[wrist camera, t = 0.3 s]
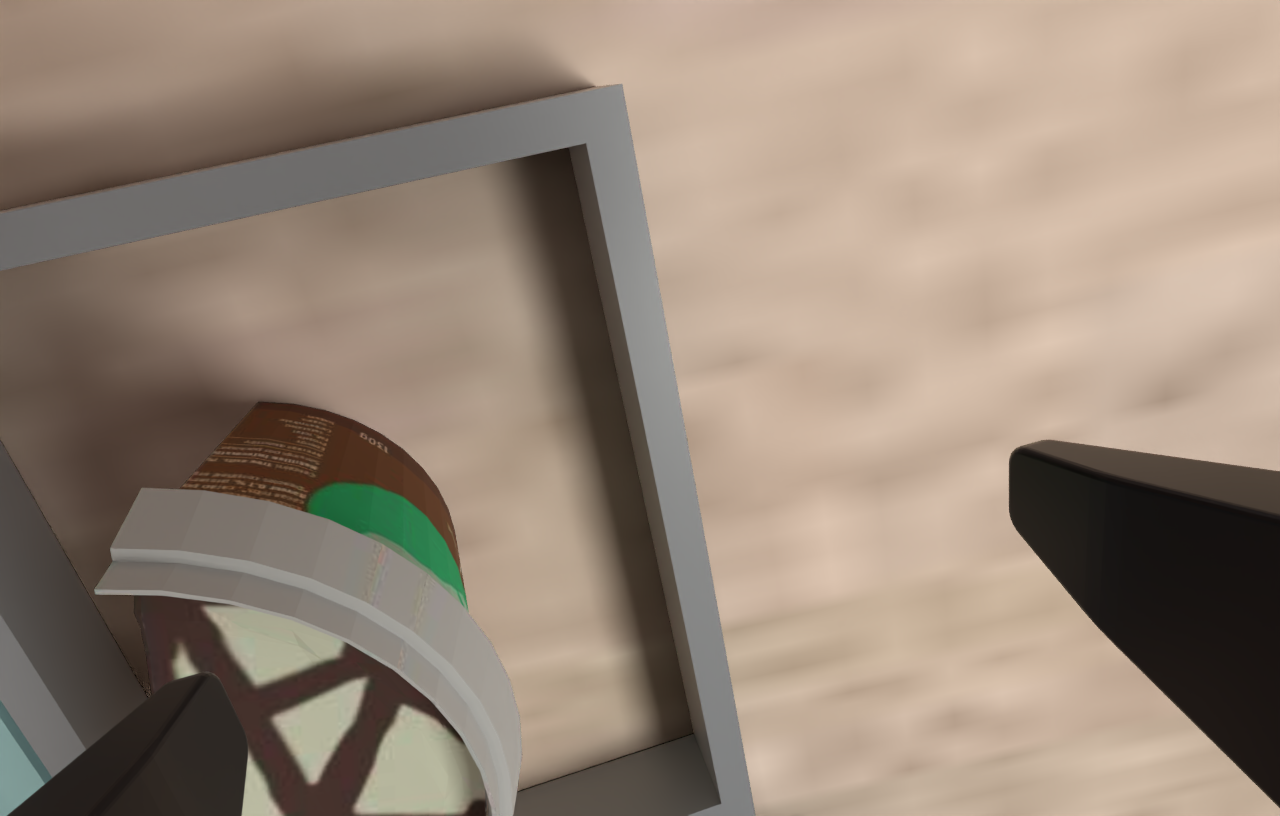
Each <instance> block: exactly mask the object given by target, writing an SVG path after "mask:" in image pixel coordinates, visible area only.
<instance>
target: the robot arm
mask: <svg viewBox="0 0 1280 816" xmlns="http://www.w3.org/2000/svg"><path fill="white" fill-rule="evenodd" d="M1009 513H1010V517H1011V520H1012V523H1013V525H1014V527H1015V528H1016V530H1017V531H1018V533H1019V534H1020V535H1021V536H1022V538H1023V539H1024V540H1025V541H1026V542H1027V544H1028V545H1029V546H1030V547H1031V548H1032V550H1033V551H1034V552H1035V553H1036V554H1037V556H1038V557H1039V558H1040V559H1041V560H1042V562H1043V563H1044V564H1045V565H1046V566H1047V568H1048V569H1049V570H1050V571H1051V572H1052V574H1053V575H1054V576H1055V577H1056V578H1057V580H1058V581H1059V582H1060V583H1061V584H1062V586H1063V587H1064V588H1065V589H1066V590H1067V592H1068V593H1069V594H1070V595H1071V596H1072V598H1073V599H1074V600H1075V601H1076V602H1077V604H1078V605H1079V606H1080V607H1081V609H1082V610H1083V611H1084V612H1085V613H1086V614H1087V615H1088V617H1089V618H1090V619H1091V620H1092V621H1093V622H1094V623H1095V625H1096V626H1097V627H1098V628H1099V629H1100V630H1101V631H1102V632H1103V633H1104V634H1105V635H1106V636H1107V637H1108V638H1109V639H1110V640H1111V641H1112V642H1113V644H1114V645H1115V646H1116V647H1117V648H1118V649H1119V650H1121V651H1122V652H1123V653H1124V654H1125V655H1126V656H1127V657H1128V658H1129V659H1130V660H1131V661H1132V662H1133V663H1134V664H1135V665H1136V666H1137V667H1138V668H1139V669H1140V670H1141V671H1142V672H1143V673H1144V674H1145V675H1146V676H1147V677H1148V678H1149V679H1150V680H1151V681H1152V682H1153V683H1154V684H1155V685H1156V686H1157V687H1158V688H1159V689H1160V690H1161V691H1162V692H1163V693H1164V694H1165V695H1166V696H1167V697H1168V698H1169V699H1170V700H1171V701H1172V702H1173V703H1174V704H1175V705H1176V706H1177V707H1178V708H1179V709H1180V710H1181V711H1182V712H1183V713H1184V714H1185V715H1186V716H1187V717H1188V718H1189V719H1190V720H1191V721H1192V722H1193V723H1194V724H1195V725H1196V726H1197V727H1198V728H1199V729H1200V730H1201V731H1202V732H1203V733H1204V734H1205V735H1206V736H1207V737H1208V738H1209V739H1211V740H1212V741H1213V742H1214V743H1215V744H1216V745H1217V746H1218V747H1219V748H1220V749H1221V750H1222V751H1223V752H1224V753H1225V754H1226V755H1227V756H1228V757H1229V758H1230V759H1231V760H1232V761H1233V762H1234V763H1235V764H1236V765H1237V766H1238V767H1239V768H1240V769H1241V770H1242V771H1243V772H1244V773H1245V774H1246V775H1247V776H1248V777H1249V778H1250V779H1251V780H1252V781H1253V782H1254V783H1255V784H1256V785H1257V786H1258V787H1259V788H1260V789H1261V790H1262V791H1263V792H1264V793H1265V794H1266V795H1267V796H1268V797H1269V798H1270V799H1271V800H1272V801H1273V802H1274V803H1275V804H1276V805H1277V806H1278V807H1279V808H1280V471H1273V470H1266V469H1259V468H1252V467H1244V466H1237V465H1230V464H1223V463H1215V462H1208V461H1201V460H1194V459H1186V458H1179V457H1172V456H1165V455H1157V454H1150V453H1143V452H1136V451H1128V450H1121V449H1114V448H1107V447H1099V446H1092V445H1085V444H1078V443H1070V442H1063V441H1056V440H1041V441H1038V442H1034V443H1031V444H1027V445H1023V446H1020V447H1018V448H1016V449H1015V450H1014V451H1013V452H1012V453H1011V456H1010V459H1009ZM247 762H248V743H247V738H246V734H245V731H244V729H243V726H242V724H241V722H240V720H239V718H238V716H237V714H236V712H235V710H234V707H233V705H232V703H231V701H230V699H229V697H228V695H227V693H226V691H225V689H224V686H223V684H222V682H221V681H220V679H219V678H218V677H217V676H216V675H215V674H213V673H211V672H201V673H198V674H194V675H190V676H187V677H183V678H180V679H176V680H172V681H170V682H168V683H166V684H165V685H163V686H162V687H161V688H160V689H159V690H157V691H156V692H155V693H154V694H152V695H151V696H150V697H149V698H148V699H146V700H145V701H144V702H143V703H142V704H140V705H139V706H138V707H137V708H136V709H134V710H133V711H132V712H131V713H130V714H128V715H127V716H126V717H125V718H124V719H122V720H121V721H120V722H119V723H118V724H116V725H115V726H114V727H113V728H112V729H110V730H109V731H108V732H107V733H106V734H104V735H103V736H102V737H101V738H100V739H98V740H97V741H96V742H95V743H94V744H92V745H91V746H90V747H89V748H88V749H86V750H85V751H84V752H83V753H82V754H80V755H79V756H78V757H77V758H75V759H74V760H73V761H72V762H71V763H69V764H68V765H67V766H66V767H65V768H63V769H62V770H61V771H60V772H59V773H57V774H56V775H55V776H54V777H53V778H51V779H50V780H49V781H48V782H47V783H45V784H44V785H43V786H42V787H41V788H39V789H38V790H37V791H36V792H35V793H33V794H32V795H31V796H30V797H29V798H27V799H26V800H25V801H24V802H23V803H21V804H20V805H19V806H18V807H17V808H15V809H14V810H13V811H12V812H11V813H9V814H8V815H7V816H242V809H243V800H244V790H245V781H246V772H247Z"/></svg>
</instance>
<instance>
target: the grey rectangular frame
mask: <svg viewBox="0 0 1280 816" xmlns="http://www.w3.org/2000/svg"><path fill="white" fill-rule="evenodd" d="M567 147H569V152H570V157H571V161H572V166H573V171H574V175H575V180H576V185H577V189H578V194H579V199H580V203H581V208H582V213H583V217H584V222H585V227H586V231H587V236H588V241H589V245H590V250H591V255H592V259H593V264H594V269H595V273H596V278H597V283H598V287H599V292H600V297H601V301H602V306H603V311H604V315H605V320H606V325H607V330H608V334H609V339H610V344H611V348H612V353H613V358H614V362H615V367H616V372H617V376H618V381H619V386H620V390H621V395H622V400H623V404H624V409H625V414H626V418H627V423H628V428H629V432H630V437H631V442H632V446H633V451H634V456H635V460H636V465H637V470H638V474H639V479H640V484H641V488H642V493H643V498H644V502H645V507H646V512H647V516H648V521H649V526H650V530H651V535H652V540H653V545H654V549H655V554H656V559H657V563H658V568H659V573H660V577H661V582H662V587H663V591H664V596H665V601H666V605H667V610H668V615H669V619H670V624H671V629H672V633H673V638H674V643H675V647H676V652H677V657H678V661H679V666H680V671H681V675H682V680H683V685H684V689H685V694H686V699H687V703H688V708H689V713H690V717H691V722H692V727H693V731H694V734H692V735H689V736H686V737H683V738H680V739H677V740H674V741H671V742H668V743H665V744H662V745H659V746H656V747H653V748H650V749H647V750H644V751H641V752H638V753H635V754H632V755H629V756H626V757H623V758H619V759H616V760H613V761H610V762H607V763H604V764H601V765H598V766H595V767H592V768H589V769H586V770H583V771H580V772H577V773H574V774H571V775H568V776H565V777H562V778H559V779H556V780H553V781H550V782H547V783H544V784H541V785H538V786H535V787H532V788H529V789H526V790H523V791H520V792H517V795H516V801H515V807H514V813H513V816H756V815H755V810H754V804H753V799H752V793H751V788H750V782H749V777H748V771H747V766H746V761H745V755H744V750H743V744H742V739H741V733H740V728H739V722H738V717H737V711H736V706H735V700H734V695H733V689H732V684H731V678H730V673H729V667H728V662H727V656H726V651H725V645H724V640H723V634H722V629H721V623H720V618H719V612H718V607H717V601H716V596H715V590H714V585H713V579H712V574H711V568H710V563H709V557H708V552H707V547H706V541H705V536H704V530H703V525H702V519H701V514H700V508H699V503H698V497H697V492H696V486H695V481H694V475H693V470H692V464H691V459H690V453H689V448H688V442H687V437H686V431H685V426H684V420H683V415H682V409H681V404H680V398H679V393H678V387H677V382H676V376H675V371H674V365H673V360H672V354H671V349H670V343H669V338H668V333H667V327H666V322H665V316H664V311H663V305H662V300H661V294H660V289H659V283H658V278H657V272H656V267H655V261H654V256H653V250H652V245H651V239H650V234H649V228H648V223H647V217H646V212H645V206H644V201H643V195H642V190H641V184H640V179H639V173H638V168H637V162H636V157H635V151H634V146H633V140H632V135H631V129H630V124H629V119H628V113H627V108H626V102H625V97H624V91H623V86H622V84H616V85H607V86H597V87H592V88H587V89H583V90H578V91H573V92H568V93H563V94H559V95H554V96H549V97H544V98H539V99H535V100H530V101H525V102H520V103H515V104H511V105H506V106H501V107H496V108H491V109H486V110H482V111H477V112H472V113H467V114H462V115H458V116H453V117H448V118H443V119H438V120H434V121H429V122H424V123H419V124H414V125H410V126H405V127H400V128H395V129H390V130H386V131H381V132H376V133H371V134H366V135H361V136H357V137H352V138H347V139H342V140H337V141H333V142H328V143H323V144H318V145H313V146H309V147H304V148H299V149H294V150H289V151H285V152H280V153H275V154H270V155H265V156H260V157H256V158H251V159H246V160H241V161H236V162H232V163H227V164H222V165H217V166H212V167H208V168H203V169H198V170H193V171H188V172H184V173H179V174H174V175H169V176H164V177H160V178H155V179H150V180H145V181H140V182H135V183H131V184H126V185H121V186H116V187H111V188H107V189H102V190H97V191H92V192H87V193H83V194H78V195H73V196H68V197H63V198H59V199H54V200H49V201H44V202H39V203H35V204H30V205H25V206H20V207H15V208H10V209H6V210H1V211H0V271H2V270H7V269H11V268H16V267H20V266H25V265H30V264H34V263H39V262H43V261H48V260H53V259H57V258H62V257H66V256H71V255H75V254H80V253H85V252H89V251H94V250H98V249H103V248H108V247H112V246H117V245H121V244H126V243H131V242H135V241H140V240H144V239H149V238H154V237H158V236H163V235H167V234H172V233H177V232H181V231H186V230H190V229H195V228H199V227H204V226H209V225H213V224H218V223H222V222H227V221H232V220H236V219H241V218H245V217H250V216H255V215H259V214H264V213H268V212H273V211H278V210H282V209H287V208H291V207H296V206H300V205H305V204H310V203H314V202H319V201H323V200H328V199H333V198H337V197H342V196H346V195H351V194H356V193H360V192H365V191H369V190H374V189H379V188H383V187H388V186H392V185H397V184H402V183H406V182H411V181H415V180H420V179H424V178H429V177H434V176H438V175H443V174H447V173H452V172H457V171H461V170H466V169H470V168H475V167H480V166H484V165H489V164H493V163H498V162H503V161H507V160H512V159H516V158H521V157H525V156H530V155H535V154H539V153H544V152H548V151H553V150H558V149H562V148H567ZM146 699H148V698H147V696H146V694H145V693H144V691H143V689H142V687H141V686H140V684H139V682H138V680H137V679H136V677H135V675H134V673H133V672H132V670H131V668H130V666H129V665H128V663H127V661H126V659H125V658H124V656H123V654H122V652H121V651H120V649H119V647H118V645H117V644H116V642H115V640H114V638H113V637H112V635H111V633H110V631H109V630H108V628H107V626H106V624H105V623H104V621H103V619H102V617H101V616H100V614H99V612H98V610H97V609H96V607H95V605H94V603H93V602H92V600H91V598H90V596H89V595H88V593H87V591H86V589H85V588H84V586H83V584H82V582H81V581H80V579H79V577H78V575H77V574H76V572H75V570H74V568H73V567H72V565H71V563H70V561H69V560H68V558H67V556H66V554H65V553H64V551H63V549H62V547H61V546H60V544H59V542H58V540H57V539H56V537H55V535H54V533H53V532H52V530H51V528H50V526H49V525H48V523H47V521H46V519H45V518H44V516H43V514H42V512H41V511H40V509H39V507H38V505H37V504H36V502H35V500H34V498H33V497H32V495H31V493H30V491H29V490H28V488H27V486H26V484H25V483H24V481H23V479H22V477H21V476H20V474H19V472H18V470H17V469H16V467H15V465H14V463H13V462H12V460H11V458H10V456H9V455H8V453H7V451H6V449H5V448H4V446H3V444H2V442H1V441H0V700H1V702H2V703H3V705H4V706H5V708H6V709H7V711H8V712H9V714H10V715H11V717H12V718H13V720H14V721H15V723H16V724H17V726H18V727H19V729H20V730H21V732H22V733H23V735H24V736H25V738H26V739H27V741H28V742H29V744H30V745H31V747H32V748H33V750H34V751H35V753H36V754H37V755H38V757H39V758H40V760H41V761H42V763H43V764H44V766H45V767H46V769H47V770H48V772H49V773H50V775H51V776H52V778H53V777H54V776H55V775H56V774H57V773H59V772H60V771H61V770H62V769H63V768H65V767H66V766H67V765H68V764H69V763H71V762H72V761H73V760H74V759H75V758H77V757H78V756H79V755H80V754H82V753H83V752H84V751H85V750H86V749H88V748H89V747H90V746H91V745H92V744H94V743H95V742H96V741H97V740H98V739H100V738H101V737H102V736H103V735H104V734H106V733H107V732H108V731H109V730H110V729H112V728H113V727H114V726H115V725H116V724H118V723H119V722H120V721H121V720H122V719H124V718H125V717H126V716H127V715H128V714H130V713H131V712H132V711H133V710H134V709H136V708H137V707H138V706H139V705H140V704H142V703H143V702H144V701H145V700H146Z"/></svg>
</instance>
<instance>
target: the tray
mask: <svg viewBox="0 0 1280 816" xmlns="http://www.w3.org/2000/svg"><path fill="white" fill-rule="evenodd" d="M51 778H52V776H51V775H50V773H49V772H48V770H47V769H46V767H45V766H44V764H43V763H42V761H41V760H40V758H39V757H38V755H37V754H36V753H35V751H34V750H33V748H32V747H31V745H30V744H29V742H28V741H27V739H26V738H25V736H24V735H23V733H22V732H21V730H20V729H19V727H18V726H17V724H16V723H15V721H14V720H13V718H12V717H11V715H10V714H9V712H8V711H7V709H6V708H5V706H4V705H3V703H2V702H1V700H0V816H7V815H8V814H9V813H11V812H12V811H13V810H14V809H15V808H17V807H18V806H19V805H20V804H21V803H23V802H24V801H25V800H26V799H27V798H29V797H30V796H31V795H32V794H33V793H35V792H36V791H37V790H38V789H39V788H41V787H42V786H43V785H44V784H45V783H47V782H48V781H49V780H50V779H51Z"/></svg>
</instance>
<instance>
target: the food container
mask: <svg viewBox="0 0 1280 816" xmlns="http://www.w3.org/2000/svg"><path fill="white" fill-rule="evenodd" d="M110 552H111V557H112V561H113V562H112V563H111V565H110V566H109V568H108V569H107V571H106V572H105V574H104V575H103V577H102V578H101V580H100V581H99V583H98V584H97V586H96V587H95V589H94V591H95V594H102V595H134V613H135V616H136V618H137V621H138V623H139V626H140V629H141V633H142V638H143V642H144V647H145V652H146V658H147V665H148V672H149V680H150V687H151V694H154V693H155V692H156V691H157V690H159V689H160V688H161V687H162V686H163V685H165V684H166V683H168V682H170V681H172V680H176V679H180V678H183V677H187V676H190V675H194V674H198V673H201V672H211V673H213V674H215V675H216V676H217V677H218V678H219V679H220V681H221V682H222V684H223V686H224V689H225V691H226V693H227V695H228V697H229V699H230V701H231V703H232V705H233V707H234V710H235V712H236V714H237V716H238V718H239V720H240V722H241V724H242V726H243V729H244V731H245V734H246V738H247V743H248V762H247V772H246V781H245V790H244V800H243V809H242V816H513V813H514V807H515V801H516V795H517V788H518V781H519V774H520V767H521V760H522V743H521V726H520V715H519V712H518V708H517V704H516V701H515V697H514V693H513V690H512V686H511V682H510V679H509V677H508V675H507V673H506V671H505V669H504V667H503V665H502V663H501V661H500V659H499V657H498V655H497V653H496V651H495V649H494V647H493V645H492V643H491V641H490V640H489V639H488V638H487V636H486V635H485V634H484V632H483V631H482V630H481V628H480V627H479V626H478V625H477V623H476V622H475V621H474V619H473V618H472V617H471V615H470V614H469V612H468V606H467V600H466V594H465V588H464V583H463V577H462V571H461V565H460V559H459V553H458V547H457V541H456V535H455V530H454V527H453V523H452V520H451V516H450V513H449V510H448V507H447V505H446V504H445V502H444V500H443V498H442V496H441V494H440V492H439V490H438V488H437V486H436V485H435V484H434V482H433V481H432V480H431V478H430V477H429V476H428V474H427V473H426V472H425V470H424V469H423V468H422V467H421V466H420V465H419V464H418V463H417V462H416V461H415V460H414V459H413V458H412V457H411V456H410V455H409V454H408V453H407V452H406V451H404V450H403V449H402V448H401V447H399V446H398V445H396V444H395V443H393V442H392V441H391V440H389V439H388V438H386V437H385V436H383V435H382V434H380V433H378V432H377V431H375V430H373V429H371V428H369V427H367V426H365V425H363V424H361V423H359V422H357V421H355V420H352V419H349V418H346V417H343V416H340V415H337V414H334V413H331V412H329V411H326V410H321V409H316V408H311V407H306V406H301V405H296V404H284V403H269V402H258V403H257V404H256V405H255V406H254V407H253V408H252V410H251V411H250V412H249V413H248V414H247V415H246V416H245V417H244V418H243V419H242V421H241V422H240V423H239V424H238V425H237V426H236V427H235V428H234V429H233V430H232V432H231V433H230V434H229V435H228V436H227V437H226V438H225V439H224V440H223V442H222V443H221V444H220V445H219V446H218V447H217V448H216V449H215V450H214V451H213V453H212V454H211V455H210V456H209V457H208V458H207V459H206V460H205V461H204V462H203V464H202V465H201V466H200V467H199V468H198V469H197V470H196V471H195V472H194V473H193V475H192V476H191V477H190V478H189V479H188V480H187V481H186V482H185V483H184V485H183V486H182V487H181V488H180V489H163V488H141V490H140V492H139V494H138V495H137V497H136V499H135V501H134V503H133V505H132V507H131V509H130V511H129V513H128V515H127V516H126V518H125V520H124V522H123V524H122V526H121V528H120V530H119V532H118V534H117V536H116V537H115V539H114V541H113V543H112V545H111V547H110Z"/></svg>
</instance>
